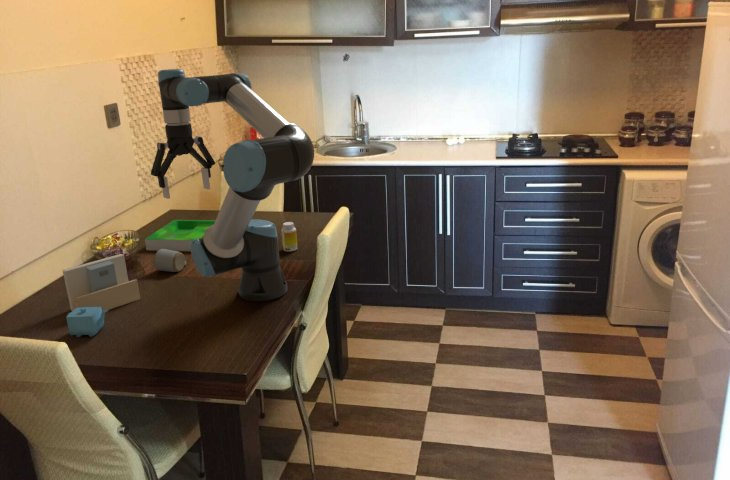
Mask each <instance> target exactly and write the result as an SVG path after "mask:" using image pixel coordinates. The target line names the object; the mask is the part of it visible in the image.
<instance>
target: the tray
mask: <svg viewBox="0 0 730 480" xmlns="http://www.w3.org/2000/svg"><path fill="white" fill-rule="evenodd" d="M215 221H216V219H209V220H207V219H173V220H172V221H170V222H169V223H167V224H165V225H164V226H162V227H161V228H159V229H158V230H156V231H154V233H152V234H150V235H149V236H147V237H146V238H144V244H145V249H146V251H156V252H157V251H158V250H160V249H167V250H172V251H178V252H191V247H190V246H191V242H192V241H193V240H195V239H196V238H198V239H199V238H202V237H203V235H204V233H205V231H206V229H207V228H208V227H210V226H211V225H213V224H214V223H215Z"/></svg>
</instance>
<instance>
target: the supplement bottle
mask: <svg viewBox="0 0 730 480" xmlns="http://www.w3.org/2000/svg"><path fill="white" fill-rule="evenodd" d="M280 231H281V232H280V233H281V242H282V250H283V251H284V252H294V251H297V250H298V248H299V247H298V245H299V244H298V237H297V236H298V235H297V228H296V227H295V224H294V222H292V221H287V222H286V221H285V222H284V223H282V228H281V230H280Z"/></svg>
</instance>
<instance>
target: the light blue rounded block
mask: <svg viewBox="0 0 730 480" xmlns="http://www.w3.org/2000/svg"><path fill="white" fill-rule="evenodd" d="M109 310H110V309H109ZM109 310H104V311H102V309H101V307H81V308H75V309H74V310H73V311H72V310H71V311H70V312H68V313H67V315H66V317H65V319H66V323H67V327H68V333H69V336H75V337H76V338H81V337H82V336H87V335H88V337H95V335H97V334H98V332H99V331H100V330H101V329H102V328H103V327H104V325H105V314H107V312H109Z"/></svg>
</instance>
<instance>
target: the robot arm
mask: <svg viewBox="0 0 730 480" xmlns="http://www.w3.org/2000/svg"><path fill="white" fill-rule="evenodd" d="M157 77H158V79H157V81H158V82H157V84H158V88H159V95H160V101H161V107H162V114H163V122H164V124H165V126H164V129H165V136H166V139H167V140H166V142H157V144H156V154H155V158H154V161H153V163H152V167H151V171H150V175H151V176H153V177H157V179H158V186H159V188H161V189H162V197H163V199H164V198H165V199H171V195H170V194H171V193H170V188H169V182H168V181H169V180H168V176H166V174H167V172H168V170H169V168H170V167H171V164H172V163H173V161H174V160H175V158H177V156H178V157H180V156H183V155H191V156H192V158H193V159H195V160H196V161H197V162H198V163H199V164H200V165H202V167H201V168H200V170H201V178H202V179H201V180H202V186H203V189H204V190H207V191H208V190H209V191H210V190H211V184H210V179H211V178H212V173H211V168H212V167H213V166H214V165H216V162H215V159H214V158H213V157H212V155H211V153H210V152H209V149H208V148H207V147H206V144H205V142H204V139H203V138H204V137H202V136H197V135H196V136H195V137H193V127H192V124H191V119H192V118H191V113H190V107H199V106H202V105H204V104H215V103H223V102H224V103H226V104H227V105H228V106H230V107H231V108H232V109H233V110H234V112H236V113H237V114H238V115H239V116H240V117H241V118H242V119H243V120H244V121H245V122H246V123H248V125H249V126H251V128H252V129H253V130H255V131H256V132H257V133H258V134H259V135H260V136H261V137H262V138H257V139H253V140H252V139H246V140H245V139H244V140H241V141H238V142H235V143H233V144H232V145H230V146H229V147H228V148H227V149H226V151H225V154H224V156H223V158H222V159H223V160H222V164H223V166H224V167H222V171H223V177H224V180H225V182H226V184H227V186H228V187H229V188H228V189H227V191H226V194H225V196H224V200H223V202H222V204H221V206H220V209H219V211H218V214H217V216H216V218H215V220H216V221H215V223H214V224H213V225H211V226H210V227H208V228H207V229H206V231H205V233H204V235H203V237H202V238H199V239H198V238H196V239H195V240H193V241H192V242H191V246H190V247H191V251H190V253H191V258H192V260H193V264H194V265H195V268H196V270H197V271H198V273H199V274H200V275H201V276H202V277H204V278H210V277H216V276H218V275H222V274H225V273H228V272H232V271H235V270H238V269H241V270H242V271H241V275H240V279H239V285H238V295H239V297H240V298H241V299H243V300H246V301H248V302H249V301H250V302H267V301H268V302H269V301H271V300H276V299H279V298H280V297H283V296H284V295H285V294H287V292H288V282H287V279H286V277H285V275H284V272H283V270H282V268H281V263H280V252H279V241H278V240H279V239H278V237H279V236H278V231H277V226H276V224H275V223H273V222H272V221H269V220H265V219H258V218H257V219H254V218H253V217H254V214H255V212H256V211H257V208H258V207H259V205H260V203H261V201H263V200H266V199H267V198H269V196H270V195H271V193H272V191H273V190H274V188H275V186H276V185H280V184H285V183H289V182H293V181H297V180H299V179H302V178H303V177H304V176H305V175H306V174H307V173H308V172H309V171H310V170H311V168H312V165H313V163H314V160H315V147H314V144H313V141H312V139H311V137H310V136H309V135H308V133H307V132H306V131H305V130H304V129H303V128H302V127H300V126H299V125H297V124H296V123H290V122H289V121H288V120H286V119H285V118H284V117H283V116H282V115H281V114H279V112H277V111H276V110H275V109H274V108H273V106H272V107H271V105H269V103H267V102H266V101H265V100H264V99H263V98H261V97H260V96H259V95H258V94H257V93H256V92H255V91H254V90H253V89H252V82H251V81H250V80H249V76H248V75H246V74H245V73H235V72H232V73H227V74H215V75H213V74H212V75H204V76H201V75H200V76H193V77H192V76H190V77H186V74H185V71H184V70H183V69H182V68H169V69H161V70H159V71H158V72H157ZM194 145H196V146H197V148H198V150H199V151H200V153H201V154H199V152H198V151H197V150H196V149H195V148H194ZM167 149H168V151H167ZM166 151H167V153H166ZM165 153H166V155H165ZM165 156H166V157H165ZM164 157H165V159H164Z"/></svg>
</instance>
